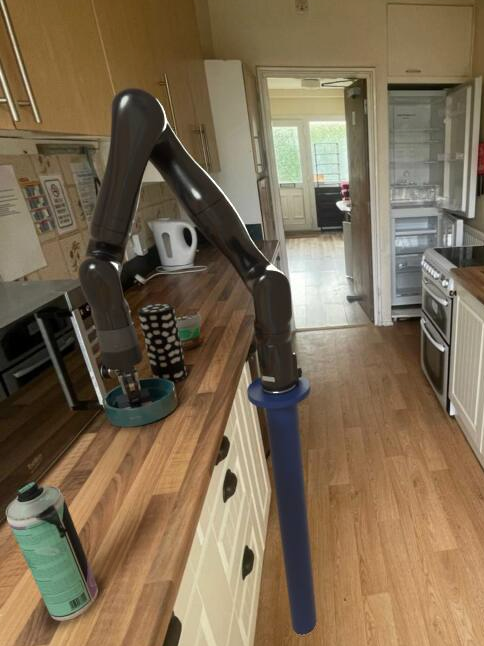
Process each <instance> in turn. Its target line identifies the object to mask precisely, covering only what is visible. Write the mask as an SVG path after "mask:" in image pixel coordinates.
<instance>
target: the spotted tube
mask: <svg viewBox="0 0 484 646" xmlns="http://www.w3.org/2000/svg"><path fill="white" fill-rule="evenodd" d="M137 314H138V317H139V318H138V319H139V322H140V327H141V331H142V335H143V336H142V337H143V339H144V343H145V348H146V352H147V357H148V362H149V365H150V370H151V374H152V378H163V379H168V380H170V381H172V382H173V383H175V382H178V381H181V380H183V379H185V377H187V375H188V372H187V368H186V367H187V366H186V361H185V356H184V350H182V346H181V341H180V336H179V331H178V326H177V321H176V318H177V316H176V311H175V306H174V304H172V303H170V302H155V303H149V304H145V305H143V306H140V307H139V308H137Z"/></svg>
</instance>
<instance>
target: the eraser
mask: <svg viewBox="0 0 484 646" xmlns="http://www.w3.org/2000/svg"><path fill="white" fill-rule="evenodd" d="M140 395H141V397H142V399H141V400H142V401H141V405H142V406H144V405H148V404H151V403H152V402H151V398H150V394H149V392H148V390H147V389H143V390H140ZM136 396H137V395H136ZM132 397H134V396H132ZM116 399H117V402H118V406H119V409H129V408H131V407H130V404H129V403H128V401H127V400H128V398H127V394H124V395H121V396H117V397H116Z"/></svg>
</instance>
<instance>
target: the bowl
mask: <svg viewBox="0 0 484 646" xmlns="http://www.w3.org/2000/svg"><path fill="white" fill-rule="evenodd" d="M138 381H139V384H140V388H141V389H140V390H143V389H147V390H148V392H149V394H150V398H151V402H152V403H151V404H148V405H144V406H141V407H135V408H129V409H119V406H118V402H117V399H116V397H117V396H121V395H124V393H123V390H122V387H121V384H119V385H118V386H116V387H114V388H112V389H111V390H109V391H108V392H107V393H106V394H104V396H103V398H102V400H101V402H102V406H103V410H104V413H105V416H106V420H107V422H108V423H110V424H111V425H113V426H116V427H120V428H121V427H122V428H132V427H138V426H144V425H147V424H150V423H154V422H156V421H158V420H161V419H163V418H165V417H167V416H168V415H169V414H171V413H172V412H173V411H174V410H175V409H176V408H177V406H178V401H179V400H178V396H177V390H176V387H175V384H174V382H172V381H170V380H168V379H163V378H153V377H146V378H145V377H144V378H138ZM140 390H139V391H140Z"/></svg>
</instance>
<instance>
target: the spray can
mask: <svg viewBox="0 0 484 646" xmlns="http://www.w3.org/2000/svg"><path fill="white" fill-rule="evenodd" d="M5 515H6V521H7V522H8V525H9V526H10V529H11V532H12V534H13V536H14V538H15V540H16V542H17V545H18V547H19V549H20V551H21V554H22V556H23V558H24V560H25V562H26V564H27V567H28V569H29V572H30V573H31V576H32V578H33V580H34V582H35V584H36V587H37V589H38V591H39V593H40V594H41V597H42V600H43V601H44V605H45V607H46V609H47V611H48V613H49V616H51V618H52V619H53V620H56V621H60V622H62V621H67V620H68V621H69V620H71V619H74V618H76V617H78V616H80V615H81V614H83V613H84V612H85V611H87V610H88V609H89V608H90V607H91V606H92V605H93V604H94V603H95V600H96V599H97V597H98V594H99V589H98V585H97V582H96V579H95V577H94V574H93V571H92V569H91V566H90V563H89V561H88V558H87V555H86V553H85V549H84V547H83V545H82V541H81V539H80V537H79V534H78V531H77V528H76V526H75V524H74V523H75V522H74V521H73V518H72V515H71V513H70V510H69V508H68V504H67V502H66V499H65V497H64V494H63V493H62V492H61V490H60V488H58V487H56V486H52V485H49V486H48V485H47V486H41V485H40V486H39V485H38V484H37V482H36V481H34V480H31V481H27V482H24V483H23V484H22V485H21V486H20V487H19V488H18V494H17V496H16V498H14V499H13V500H12V501H11V502H10V503H9V504H8V506H7V507H6V510H5Z"/></svg>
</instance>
